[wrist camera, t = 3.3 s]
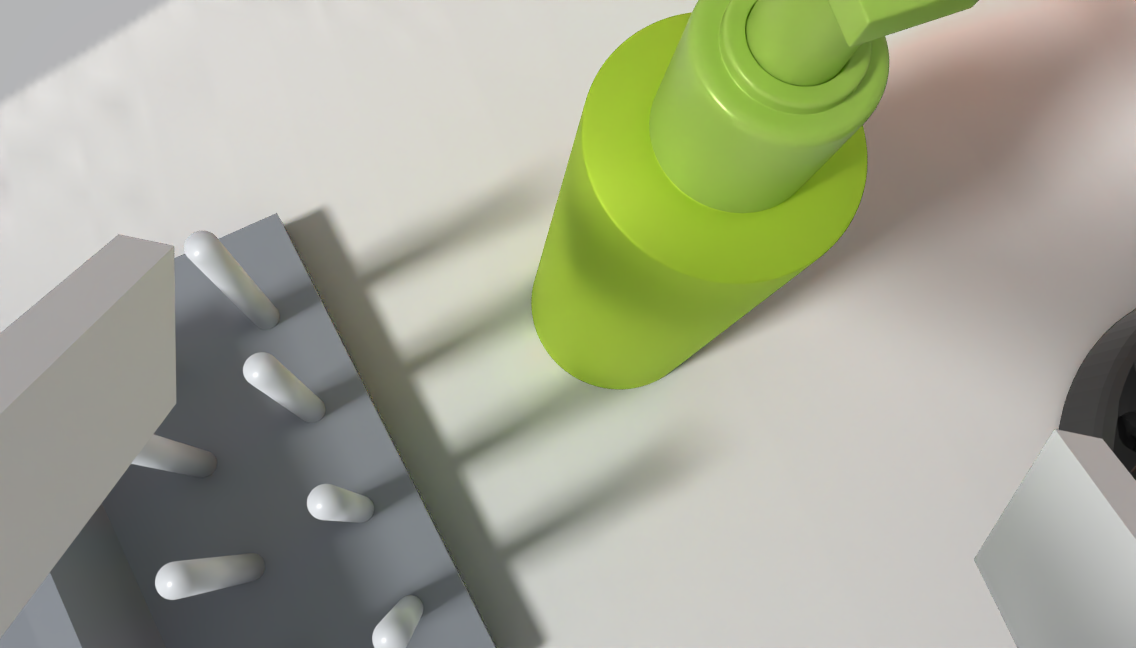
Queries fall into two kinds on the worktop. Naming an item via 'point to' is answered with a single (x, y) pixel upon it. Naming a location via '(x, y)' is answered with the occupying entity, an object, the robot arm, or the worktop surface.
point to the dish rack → (257, 491)
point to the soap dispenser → (709, 175)
